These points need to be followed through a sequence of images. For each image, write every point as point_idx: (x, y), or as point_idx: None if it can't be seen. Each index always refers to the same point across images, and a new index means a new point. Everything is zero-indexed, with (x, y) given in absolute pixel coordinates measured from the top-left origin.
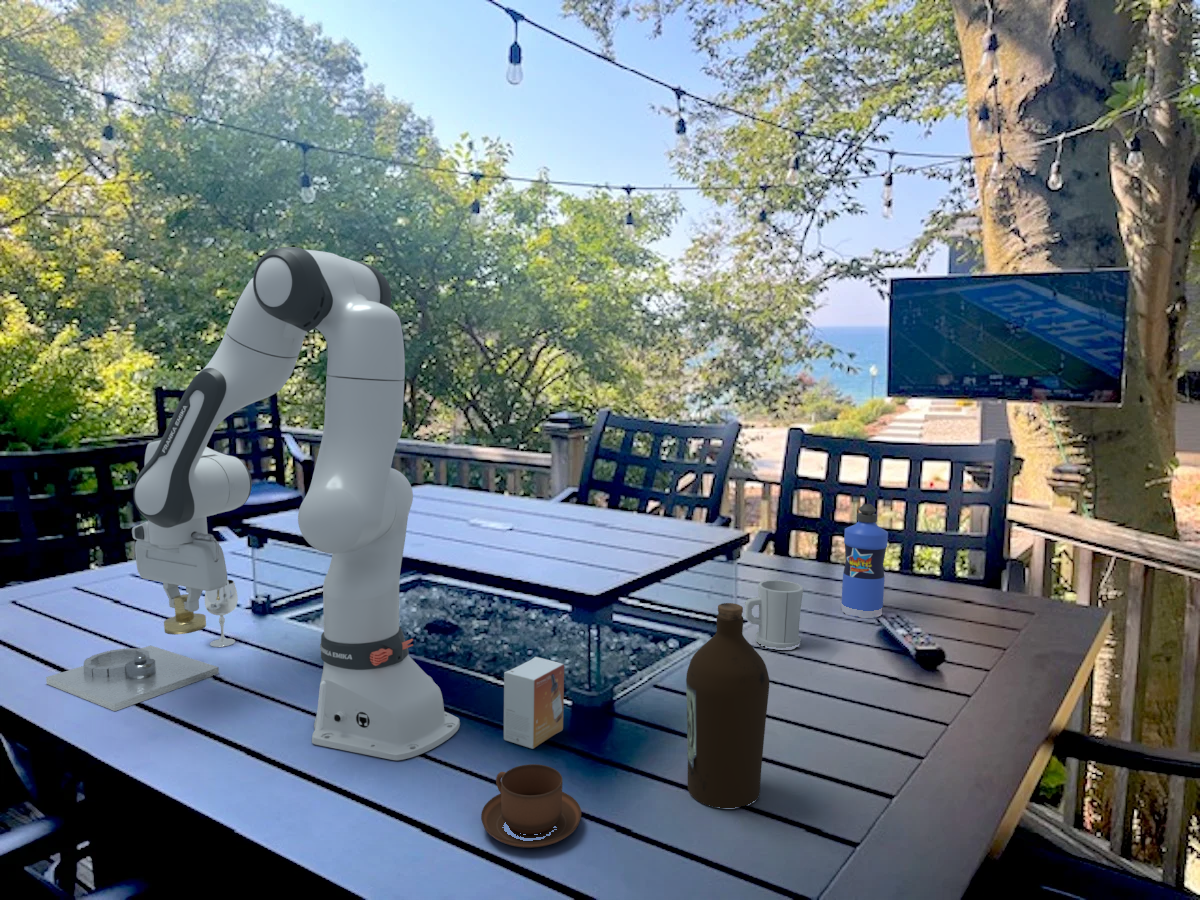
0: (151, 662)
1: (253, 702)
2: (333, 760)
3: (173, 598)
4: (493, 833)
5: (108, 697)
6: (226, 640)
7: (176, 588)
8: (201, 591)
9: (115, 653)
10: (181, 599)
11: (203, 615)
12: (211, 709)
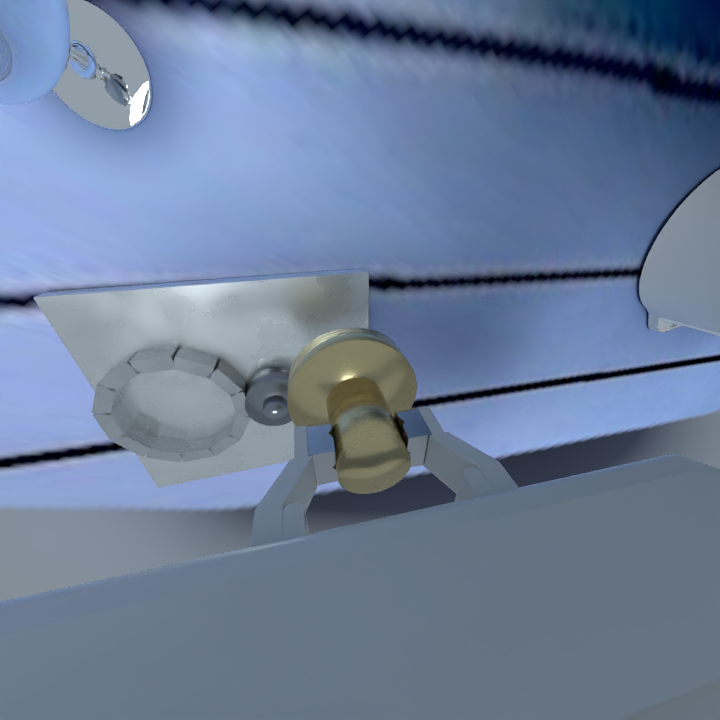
0: None
1: (519, 305)
2: (678, 335)
3: (325, 480)
4: None
5: None
6: (108, 59)
7: (293, 497)
8: (491, 461)
9: (114, 402)
10: (397, 478)
11: (376, 349)
12: (477, 356)
